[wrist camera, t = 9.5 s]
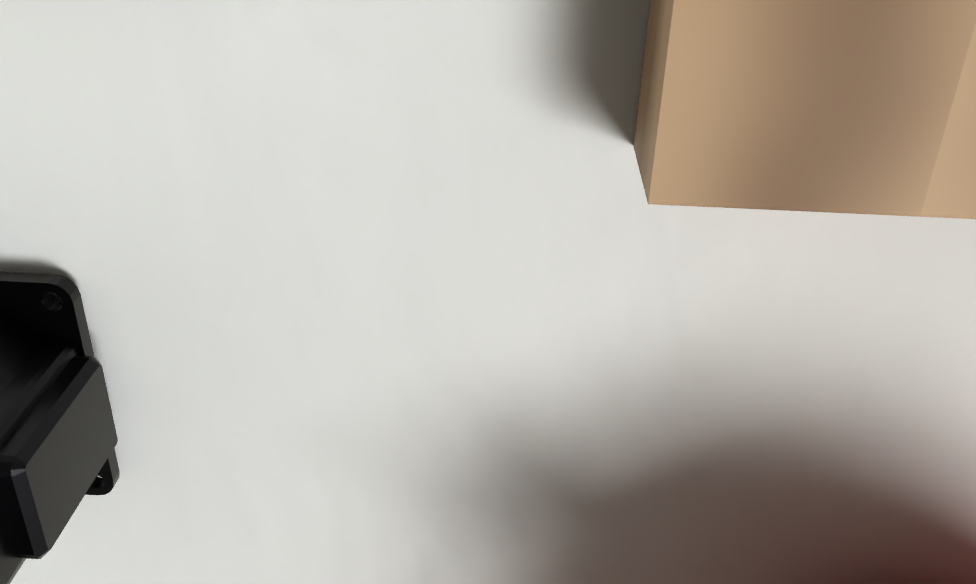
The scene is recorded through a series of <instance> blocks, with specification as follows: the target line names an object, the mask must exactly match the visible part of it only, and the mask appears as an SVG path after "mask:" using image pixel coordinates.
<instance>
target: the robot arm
mask: <svg viewBox="0 0 976 584" xmlns="http://www.w3.org/2000/svg"><path fill="white" fill-rule="evenodd" d="M49 292H51V293H55V294H57V295H58V296H59V297H61V299H62V301H63V303H61V302H58V301H56V300H54V299H53V298H52V297H51V295H50V294H49ZM117 441H118V440H117V434H116V429H115V425H114V420H113V416H112V411H111V406H110V402H109V397H108V392H107V388H106V383H105V379H104V374H103V369H102V366H101V364H100V363H99V361H98V360H97V359H96V358H95V357H94V354H93V349H92V345H91V340H90V336H89V331H88V326H87V322H86V317H85V313H84V308H83V304H82V299H81V295H80V292H79V290H78V288H77V286H76V285H75V284H74V283H73V282H72V281H70V280H69V279H67V278H65V277H63V276H58V275H46V274H26V273H5V272H0V584H10V582H11V581H12V579H13V578H14V576H15V575H16V573H17V572H18V570H19V569H20V567H21V565H22V564H23V562H24V561H25V559H26V558H31V559H41V558H42V557H43V556H44V555H45V554H46V553H47V552H48V551H49V550H50V549H51V548H52V547H53V545H54V543H55V542H56V540H57V539H58V537H59V535H60V534H61V532H62V531H63V529H64V527H65V526H66V524H67V523H68V521H69V519H70V518H71V516H72V515H73V513H74V511H75V510H76V508H77V506H78V505H79V503H80V502H81V500H82V498H83V497H84V495H85V494H86V495H105V494H107V493H109V492H110V491H111V490H112V488H113V487H114V485H115V484H116V482H117V480H118V478H119V468H118V463H117V459H116V454H115V449H114V447H115V446H116V444H117ZM97 474H98V475H99V476H101V477H102V478H100V477H97Z"/></svg>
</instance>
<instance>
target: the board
mask: <svg viewBox="0 0 976 584" xmlns="http://www.w3.org/2000/svg"><path fill="white" fill-rule="evenodd" d="M634 150H635V154H636V158H637V162H638V166H639V170H640V174H641V178H642V181H643V185H644V189H645V193H646V197H647V201H648V204H658V205H680V206H702V207H724V208H746V209H768V210H789V211H811V212H833V213H855V214H877V215H899V216H920V217H942V218H964V219H976V0H650V7H649V16H648V24H647V33H646V42H645V51H644V60H643V68H642V77H641V86H640V95H639V104H638V113H637V121H636V130H635V139H634Z"/></svg>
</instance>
